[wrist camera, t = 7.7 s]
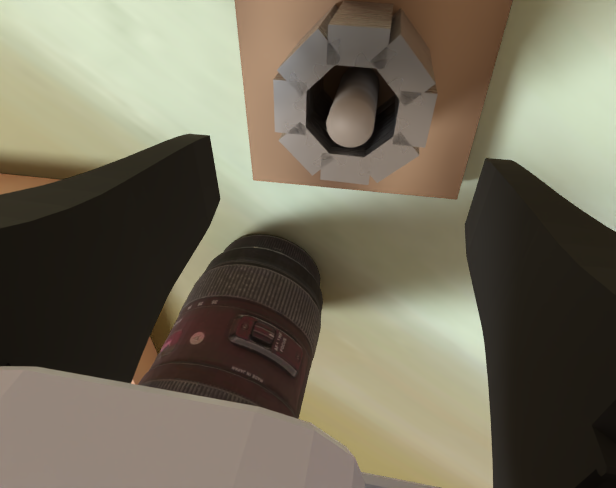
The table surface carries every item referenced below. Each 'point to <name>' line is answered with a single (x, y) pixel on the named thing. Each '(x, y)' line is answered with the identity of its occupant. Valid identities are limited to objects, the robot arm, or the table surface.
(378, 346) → the table surface
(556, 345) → the robot arm
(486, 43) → the shaft stand
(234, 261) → the camera lens
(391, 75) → the ring
